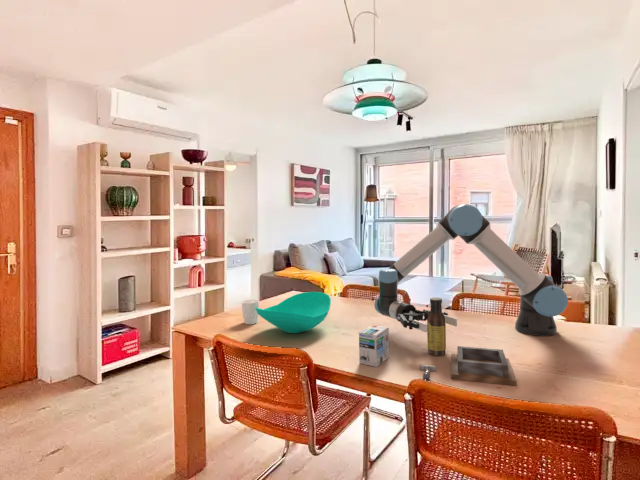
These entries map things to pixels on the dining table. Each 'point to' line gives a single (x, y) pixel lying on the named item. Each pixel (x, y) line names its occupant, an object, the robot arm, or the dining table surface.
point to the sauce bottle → (436, 329)
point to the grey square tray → (482, 366)
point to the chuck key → (427, 370)
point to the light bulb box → (373, 345)
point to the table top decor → (298, 312)
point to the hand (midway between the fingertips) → (441, 325)
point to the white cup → (250, 311)
